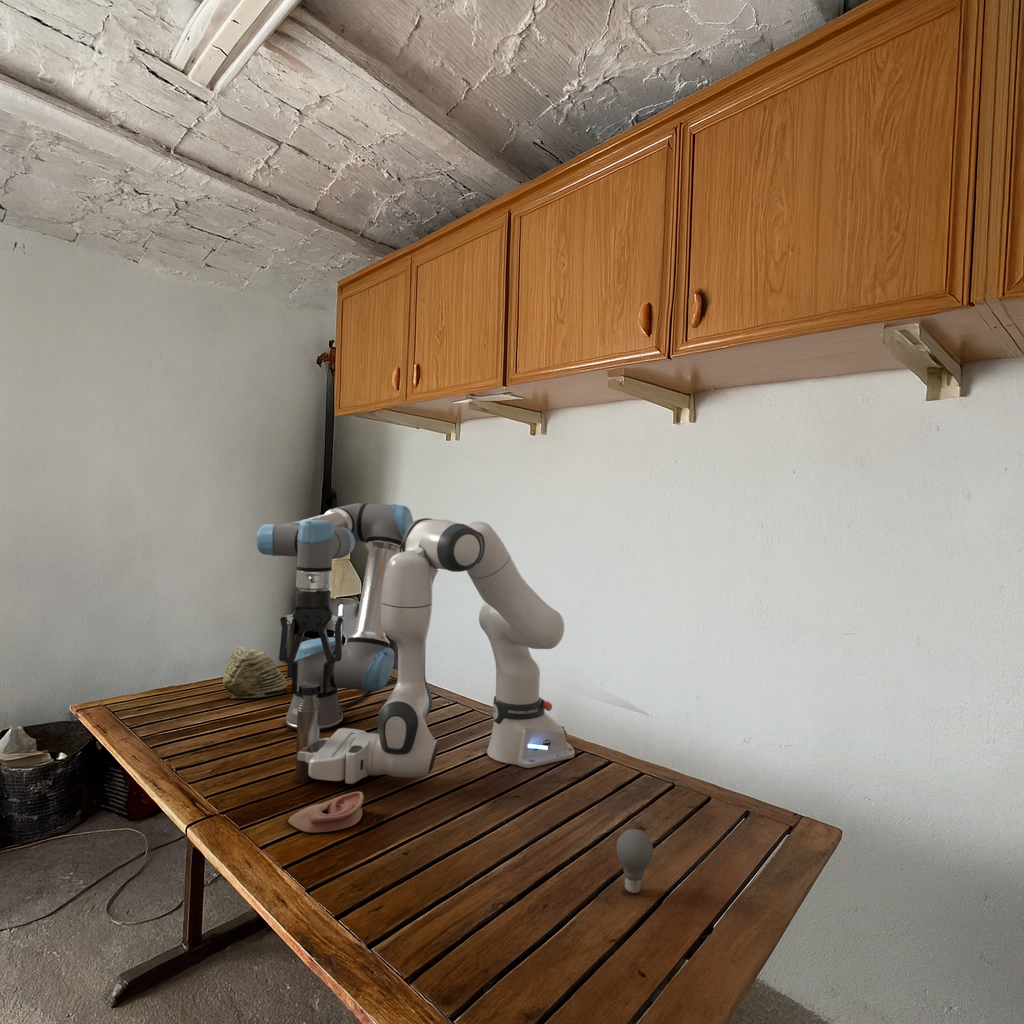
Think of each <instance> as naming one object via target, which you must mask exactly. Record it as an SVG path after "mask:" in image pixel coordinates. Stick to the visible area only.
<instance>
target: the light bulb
mask: <svg viewBox="0 0 1024 1024" xmlns="http://www.w3.org/2000/svg"><path fill="white" fill-rule="evenodd" d="M615 849H616V854H617V857H618V859H619V861H620V863H621V865H622V867H623V873H624V874H623V875H624V876H625V878H624V888H625V890H627V891H628V892H630V893H634V894H635V893H639V892H640V891H641V889H642V887H641V886H642V879H643V877H644V875H645V871H646V868H647V867H648V866H649V864H650V863H651V861H652V859H653V855H654V847H653V843H652V841H651V838H649V836H648V835H647V834H646V833H645V832H643V831H642V830H641V829H636V828H629V829H627V830H625V831H623V832H622V833H621V834H620V835H619V837H618V839H617V841H616V847H615Z"/></svg>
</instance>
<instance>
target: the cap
mask: <svg viewBox="0 0 1024 1024" xmlns="http://www.w3.org/2000/svg"><path fill="white" fill-rule="evenodd" d="M320 692H321V684H320V683H318V682H305V683H301V684H300V685H299V694H300V695H304V696H312V695H317V694H319V693H320Z"/></svg>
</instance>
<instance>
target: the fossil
mask: <svg viewBox="0 0 1024 1024" xmlns="http://www.w3.org/2000/svg"><path fill="white" fill-rule="evenodd" d="M222 676H223V677H222V685H223V687H224V688H225V690H226V691H228V693H229V698H230V699H250V698H264V697H271V696H275V695H281V694H284V693H285V691H286V689H287V687H288V686H287V680H286V678H285V676H284V674H283V673H282V672H281V669H279V668H278V667H277V665H276V663H275V662H274V660H273V659H272V658H271V657H270V656H269V655H268V654H267V653H266V652H265V650H264V649H263V648H260V647H258V648H251V647H247V646H246V647H245V646H238V647H237V648H236V649H235V650H233V651H232V653H231V656H230V657H229V659H228V660H227V663H226V666H225V668H224V671H223V675H222Z"/></svg>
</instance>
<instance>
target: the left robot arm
mask: <svg viewBox="0 0 1024 1024" xmlns="http://www.w3.org/2000/svg"><path fill="white" fill-rule="evenodd" d="M412 522H414V519H413V514H412V512H411V509H410V508H409V507H408V506H406V505H400V504H396V503H393V504H388V503H387V504H386V503H385V504H384V503H365V502H359V503H358V502H357V503H351V504H347V505H343V506H338V507H335V508H330V509H328V510H327V511H325V513H324V514H321V515H316V516H312V517H309V518H304V519H301V520H297V521H293V522H288V523H284V524H277V523H271V524H270V523H269V524H268V523H267V524H263V525H261V526H260V528H259V529H258V531H257V533H256V541H255V542H256V547H257V550H258V551H259V553H260V554H261V555H264V556H265V555H266V556H272V557H275V556H276V557H277V556H278V557H296V558H297V559H296V561H297V563H296V578H295V579H296V581H295V587H296V588H297V590H296V591H295V605H294V606H295V607H294V610H293V613H290V614H283V615H282V616H281V617H280V618H279V621H280V624H281V635H280V645H279V653H278V654H279V655H278V660H279V661H280V662H283V663H285V664H286V665H287V669H286V670H287V671H286V672H287V674H286V676H287V679H291V695H292V696H293V697H292V699H291V702H290V704H289V708H288V711H287V713H286V715H285V726H286V728H287V729H289V730H291V731H294V732H295V731H296V732H297V715H298V706H299V703H300V701H301V699H302V695H300V694H299V685H300V684H301V683H305V682H318V683H320V684H321V692H320V693H319V694H317V698H318V700H319V704H320V732H325V731H329V730H332V729H335V728H337V727H339V726H340V725H342V723H343V722H344V714H343V709H344V708H346V707H349V706H351V705H354V704H356V703H358V702H359V701H362V700H363V699H365V698H366V696H367V694H368V693H369V692H371V691H373V692H374V691H375V692H377V691H381V690H382V689H384V687H385V686H386V685H388V684H392V683H397V681H398V678H395V679H390V678H391V675H392V673H393V670H394V666H395V665H394V664H395V652H394V650H393V649H392V648H391V647H390V645H391V644H390V641H389V639H388V638H387V637H386V636H387V635H386V634H385V632H384V631H383V626H382V619H381V599H382V588H383V581H384V576H385V571H386V567H387V563H388V561H389V559H390V558H391V557H392V556H394V555H395V554H397V553H400V549H399V548H400V545H401V543H402V539H403V535H404V533H405V531H406V529H407V527H408V526H409V525H410V524H411V523H412ZM356 542H358V543H359V542H360V543H361V542H362V543H364V546H365V549H367V550H368V555H367V561H366V567H365V573H364V577H363V583H362V589H361V595H360V600H359V606H358V610H357V617H356V621H355V622H356V623H355V628H354V632H353V633H352V634H350V635H349V636H348V637H347V641H346V644H343V633H342V625H343V622H344V619H345V617H344V616H343V615H337V614H333V611H332V609H331V606H332V605H331V602H332V591H331V590H330V588H331V587H332V580H333V579H332V578H333V577H332V576H333V560H336V559H338V560H340V559H342V558H344V557H347V556H349V555H350V554H351V553H352V552H353V551H354V549H355V545H356ZM401 551H402V549H401ZM293 620H294V621H295V623H296V624H297V625H298V627H299V628H298V630H297V634H296V636H295V639H294V642H293V645H292V647H291V650H290V652H289V655H288V646H289V637H290V627H291V626H290V625H291V624H292V623H293ZM331 620H332V624H333V625H334V636H328V632H327V627H326V626H327V624H328V623H329V622H330V621H331ZM311 631H312V632H318V636H319V637H317V638H312V639H307V640H304V641H303V638H304V635H305V633H306V632H311ZM338 689H346V690H357V691H364V692H363V694H362V695H361V696H359V697H357V698H356V699H353V700H351V701H349V702H346V703H342V704H341V702H340V699H339V695H338ZM342 708H343V709H342Z"/></svg>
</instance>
